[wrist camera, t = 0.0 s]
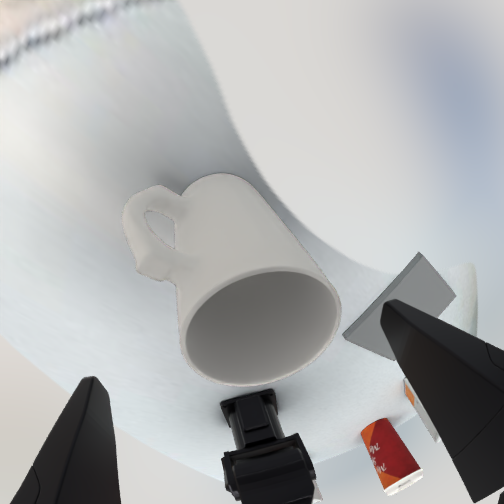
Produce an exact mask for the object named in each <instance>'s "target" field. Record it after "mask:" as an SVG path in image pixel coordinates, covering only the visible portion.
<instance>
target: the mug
mask: <svg viewBox="0 0 504 504" xmlns="http://www.w3.org/2000/svg"><path fill="white" fill-rule="evenodd" d="M147 211H153V212H158V213H161V214H163V215H165V216H166V217H168V218H170V219H171V220H173V221H174V222H175V226H174V238H175V249H173V248H171V247H170V246H168V245H167V244H165V243H164V242H163V241H162V240H161V239H159V238H158V237H157V236H156V234H155V233H154V232H153V231H152V230H151V228H150V227H149V225H148V224H147V221H146V218H145V212H147ZM122 226H123V230H124V234H125V237H126V240H127V242H128V245H129V247H130V249H131V252H132V254H133V256H134V259H135V262H136V271H137V273H139V274H141V275H144V276H147V277H149V278H151V279H154V280H157V281H164V280H168V281H170V282H171V283H173V284H174V285H176V297H177V314H178V326H179V335H180V348H181V352H182V355H183V357H184V359H185V361H186V362H187V364H188V365H189V366H190V367H191V368H192V369H193V370H194V371H195V372H196V373H197V374H199V375H200V376H202V377H204V378H205V379H207V380H210V381H212V382H215V383H218V384H222V385H228V386H238V387H246V386H257V385H263V384H268V383H271V382H275V381H278V380H281V379H283V378H286V377H288V376H290V375H292V374H294V373H296V372H298V371H300V370H302V369H303V368H305V367H306V366H308V365H309V364H311V363H312V362H313V361H314V360H316V359H317V358H318V357H319V356H320V355H321V354H322V353H323V352H324V351H325V349H326V348H327V347H328V346H329V344H330V343H331V341H332V340H333V338H334V336H335V334H336V332H337V330H338V327H339V324H340V320H341V302H340V299H339V296H338V294H337V292H336V290H335V288H334V287H333V285H332V284H331V283H330V282H329V281H328V279H327V278H326V276H325V275H324V273H323V272H322V270H321V269H320V268H319V266H318V265H317V264H316V262H315V261H314V260H313V259H312V257H311V256H310V255H309V254H308V252H307V251H306V250H305V249H304V247H303V246H302V245H301V244H300V242H299V241H298V240H297V239H296V237H295V236H294V235H293V234H292V233H291V231H290V230H289V229H288V228H287V226H286V225H285V224H284V223H283V222H282V220H281V219H280V218H279V217H278V215H277V214H276V213H275V212H274V211H273V209H272V208H271V207H270V206H269V204H268V203H267V202H266V201H265V199H264V198H263V197H262V196H261V195H260V194H259V193H258V192H257V190H256V189H255V188H254V187H253V186H252V185H251V184H250V183H248V182H247V181H246V180H244V179H242V178H240V177H238V176H235V175H232V174H225V173H218V174H211V175H207V176H204V177H202V178H200V179H198V180H196V181H195V182H193V183H192V184H191V185H190V186H188V187H187V189H186V190H185V191H184V192H183V193H182V195H181V196H180V195H178V194H176V193H174V192H173V191H171V190H169V189H168V188H166V187H164V186H162V185H155V186H153V187H150V188H148V189H145V190H143V191H140V192H138V193H136V194H134V195H133V196H132V197H131V198H130V199H129V200H128V201H127V203H126V204H125V206H124V208H123V211H122Z"/></svg>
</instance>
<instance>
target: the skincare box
mask: <svg viewBox="0 0 504 504" xmlns="http://www.w3.org/2000/svg"><path fill="white" fill-rule="evenodd" d="M404 385H405V394H406V396H407V397H408V399H409V400H410V402H411V404H412V405H413V407H414V408H415V410H416V412H417V413H418V415H419V416H420V418H421V419H422V421H423V423H424V424H425V426H426V428H427V429H428V431H429V432H430V434H431V436H432V437H433V439H434V441H435V442H436V443H438V442H439V441H441V438H440V436H439V434H438V432H437V430H436V429H435V427H434V425H433V423H432V421H431V419H430V418H429V416H428V414H427V412H426V411H425V409H424V407H423V405H422V403H421V402H420V400H419V398H418V397H417V395H416V393H415V391H414V390H413V388H412V386H411V384H410V383H409V381H408V379H407V378H405V379H404Z"/></svg>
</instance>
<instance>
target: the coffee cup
mask: <svg viewBox="0 0 504 504" xmlns="http://www.w3.org/2000/svg"><path fill="white" fill-rule="evenodd" d="M361 435H362V438H363V441H364V443H365V445H366V448H367V450H368V452H369V455H370V457H371V459H372V462H373V464H374V466H375V469H376V471H377V473H378V476H379V478H380V481H381V483H382V485H383V488H384V491H383V492H386V493H387V495H389V496H390V495H393V494H395V493H397V492H399V491H401V490H403V489H405V488H406V487H408V486H410V485H412V484H413V483H415V482H416V481H418V480H419V479H421V478H422V477H423V472H422V471H423V469H421V468H420V467H419V465H418V464H417V462H416V461H415V459H414V458H413V456H412V455H411V453H410V452H409V450H408V449H407V447H406V446H405V444H404V443H403V441H402V440H401V438H400V437H399V435H398V434H397V432H396V431H395V429H394V428H393V426H392V425H391V423H390V422H389V421H388V419H386V418H383V419H380V420H377V421H375V422H373V423H372V424H370V425H368V426H367V427H366V428H365V429H364V430H363V431H362V432H361Z"/></svg>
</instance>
